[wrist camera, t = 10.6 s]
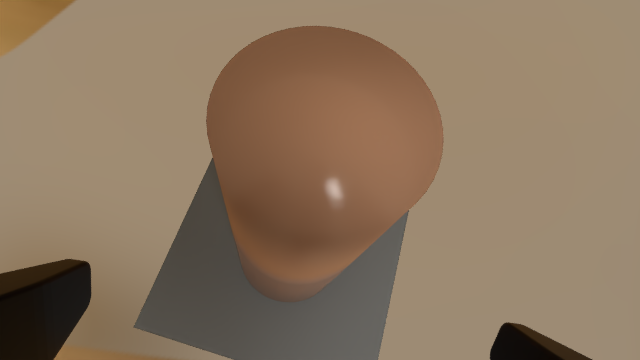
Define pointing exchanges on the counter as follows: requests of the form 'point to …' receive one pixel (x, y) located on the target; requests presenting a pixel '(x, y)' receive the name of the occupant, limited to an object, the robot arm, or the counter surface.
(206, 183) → the gray panel
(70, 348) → the counter surface
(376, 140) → the brown rounded tapered cylinder
